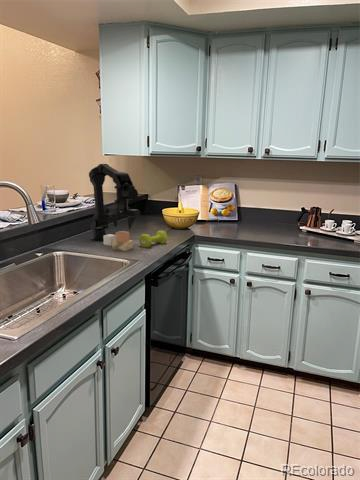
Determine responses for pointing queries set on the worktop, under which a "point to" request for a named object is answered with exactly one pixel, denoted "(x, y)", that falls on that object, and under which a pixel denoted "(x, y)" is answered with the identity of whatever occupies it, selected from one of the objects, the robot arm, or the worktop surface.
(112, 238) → the offwhite cube
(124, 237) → the terracotta cube
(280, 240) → the worktop surface
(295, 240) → the worktop surface
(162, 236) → the dumbbell
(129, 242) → the oak base block
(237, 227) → the worktop surface
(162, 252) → the worktop surface
